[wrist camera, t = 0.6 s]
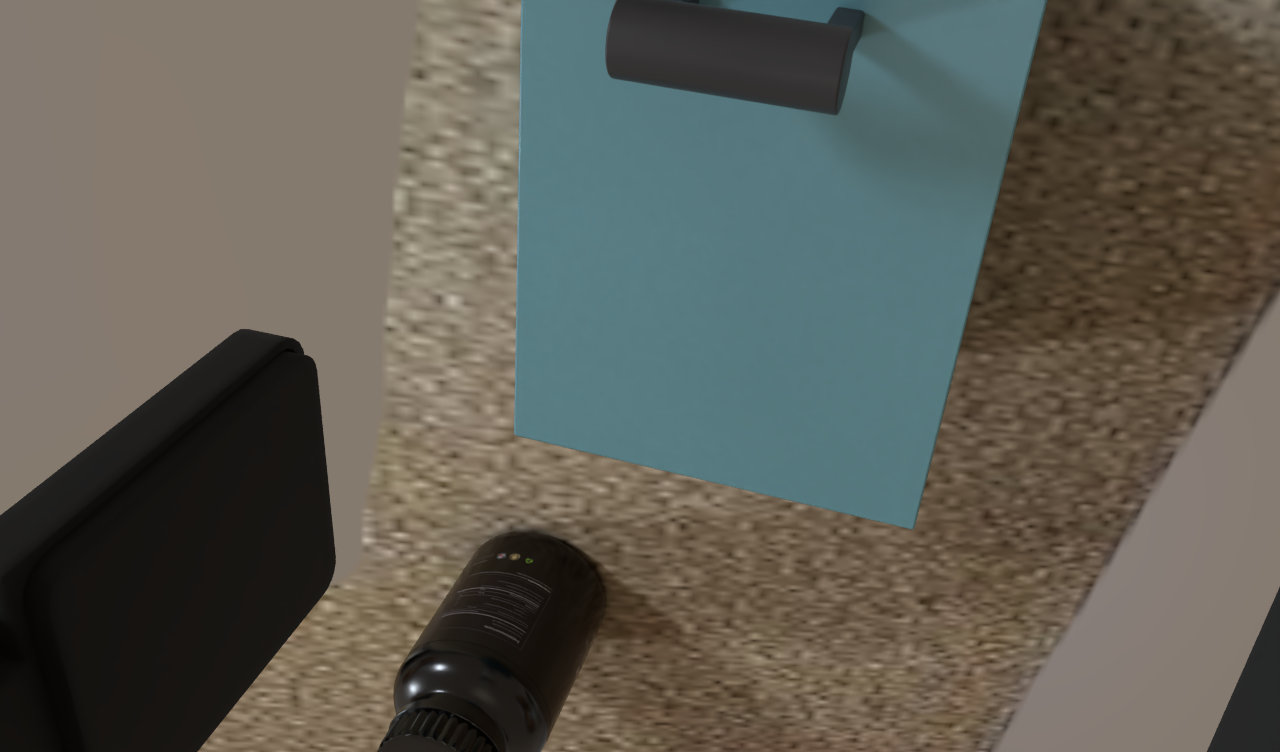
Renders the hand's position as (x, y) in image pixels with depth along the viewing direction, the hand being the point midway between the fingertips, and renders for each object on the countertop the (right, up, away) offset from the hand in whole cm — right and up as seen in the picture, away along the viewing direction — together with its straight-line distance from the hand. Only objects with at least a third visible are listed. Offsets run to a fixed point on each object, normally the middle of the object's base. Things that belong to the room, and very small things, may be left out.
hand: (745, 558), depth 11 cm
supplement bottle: (-6, -8, +44) cm, 45 cm away
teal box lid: (+2, +6, +20) cm, 21 cm away
